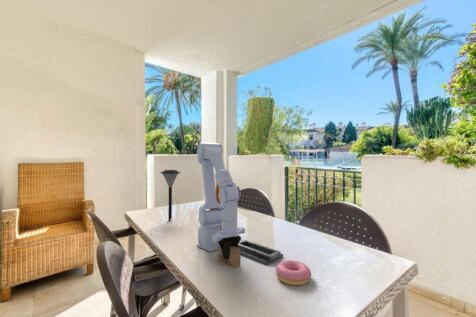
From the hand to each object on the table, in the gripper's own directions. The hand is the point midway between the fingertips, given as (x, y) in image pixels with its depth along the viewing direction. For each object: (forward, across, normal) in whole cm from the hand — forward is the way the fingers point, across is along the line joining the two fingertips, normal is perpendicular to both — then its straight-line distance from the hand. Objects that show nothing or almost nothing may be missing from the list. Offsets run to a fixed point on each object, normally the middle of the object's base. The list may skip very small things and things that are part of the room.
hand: (229, 257), depth 83 cm
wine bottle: (+2, +23, +32) cm, 39 cm away
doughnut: (+2, +7, -22) cm, 23 cm away
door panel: (+2, 0, 0) cm, 2 cm away
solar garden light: (+2, +14, +66) cm, 68 cm away
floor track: (+2, +13, -2) cm, 13 cm away
